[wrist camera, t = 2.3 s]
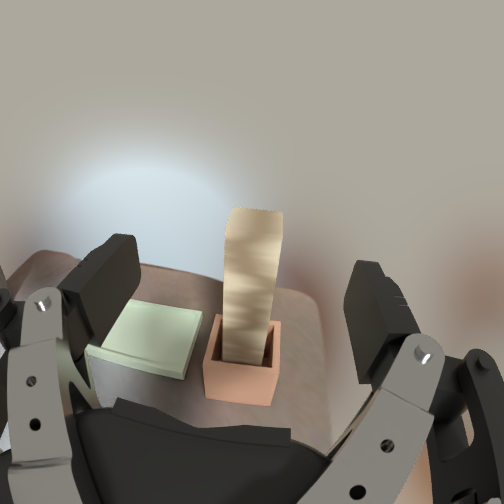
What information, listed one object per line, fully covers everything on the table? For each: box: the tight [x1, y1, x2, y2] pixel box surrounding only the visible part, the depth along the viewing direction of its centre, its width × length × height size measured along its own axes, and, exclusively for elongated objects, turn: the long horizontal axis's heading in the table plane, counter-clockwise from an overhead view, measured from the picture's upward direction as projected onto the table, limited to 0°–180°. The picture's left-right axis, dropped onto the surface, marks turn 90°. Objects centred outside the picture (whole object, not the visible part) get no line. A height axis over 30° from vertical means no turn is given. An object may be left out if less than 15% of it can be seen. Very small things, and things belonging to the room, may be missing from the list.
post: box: [223, 207, 283, 367], centre depth 26 cm, size 4×4×20 cm
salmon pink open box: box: [202, 314, 281, 406], centre depth 30 cm, size 7×7×7 cm
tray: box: [85, 299, 203, 380], centre depth 35 cm, size 14×11×2 cm
